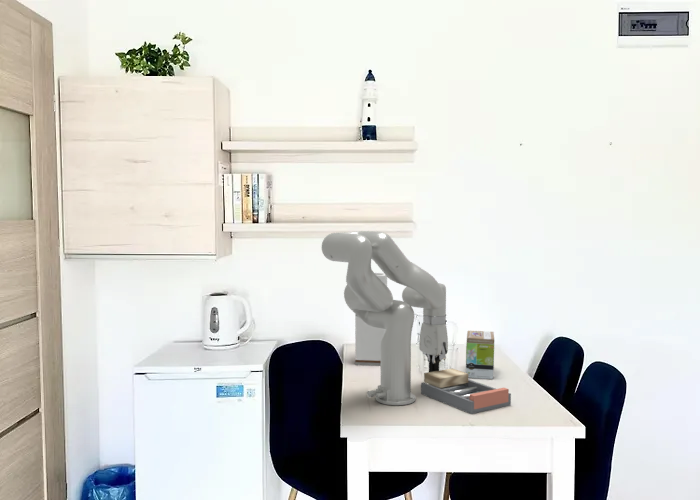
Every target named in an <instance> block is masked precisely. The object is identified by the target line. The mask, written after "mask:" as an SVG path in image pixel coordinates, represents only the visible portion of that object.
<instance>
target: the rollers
mask: <svg viewBox="0 0 700 500" xmlns="http://www.w3.org/2000/svg"><path fill="white" fill-rule="evenodd" d="M429 385H430V384H429ZM432 386H433V385H432ZM435 387H436V386H435ZM437 388H438V387H437ZM440 389H442V390H445V391H448V392H450V393H453V394H456V395H458V396H460V395H461V397H464V398H466V399H469V400H470V394H474V393H479V392H478V391H479V389H478V387H477V386H475V387H470V388H468V384H467V383H464V384H458V385H453V386H448V387H443V388H440ZM485 391H488V390H485ZM480 392H484V391H480Z"/></svg>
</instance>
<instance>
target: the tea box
mask: <svg viewBox="0 0 700 500" xmlns="http://www.w3.org/2000/svg"><path fill="white" fill-rule="evenodd" d="M494 333H495V332H494V331H485V330H467V334H466V343H465V344H466V346H465V373H468V379H469V378H470V379H480V380H481V379H482V380H484V379H485V380H494V368H495V367H494V366H495V334H494Z"/></svg>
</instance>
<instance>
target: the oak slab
mask: <svg viewBox="0 0 700 500" xmlns="http://www.w3.org/2000/svg"><path fill="white" fill-rule="evenodd" d="M423 375H424V377H423V379H424V380H423V381H424V383H427V384H430V385H433V386H436V387H438V388H443V387H448V386H453V385H458V384H464V383H468V379H469V378H468V373H466V371H465V372H464V371H462V370H458V369H455V368H447V369H441V370H440V369H439V371H434V372H429V371H428V372H424V374H423Z"/></svg>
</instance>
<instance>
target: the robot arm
mask: <svg viewBox="0 0 700 500" xmlns="http://www.w3.org/2000/svg"><path fill="white" fill-rule="evenodd" d="M321 242H322V243H321V252H322V254H323V256H324V257H325V258H326V259H327V260H329V261H332V262H340V263H348V264H347V269H346V270H347V271H346V275H345V282H346V285H345V287H344V290H343V291H344V292H343V295H344V296H343V299H344V301H345V304H346V306H347V307H348V309H350V310H351V311H352V312H353V313H354V315H355V314H356V315H357V316H358V317H359V318H360V319H362V320H363V321H364V322H365V323H366V324H368V325H370V326H372V327H377V328H382V329H386V332H385V334H384V336H383V338H382V341H381V366H380V385H377V388H376V389H374V390H367V393H366V396H367V397H368V398H372V397H375V400H376V401H377V402H378V403H380V404H383V405H387V406H405V405H410V404H412V403H414V402H416V395H415V394H414V393H412V391H411V390H412V389H411V387H412V386H411V385H412V383H411V382H412V381H411V380H412V379H411V377H412V374H411V371H412V370H411V369H412V368H411V366H412V365H411V363H412V348H411V347H412V334H413V333H412V331H413V327H414V322H415V312H414V309H413V308H419V309H422V310H423V313H422V314H423V316H422V322H421V325H420V331H419V332H420V333H419V345H418V347H419V350H420V352H422V354H423V355H424V356H426V358H427V362H428V372H434V371H440V363H441V361H442V360H446V359H447V354H448V351H449V341H448V340H449V338H448V329H447V324H446V322H447V320H446V319H447V317H446V316H447V313H446V312H447V287H446V285H445V284H444V283H439V281H437V280H436V278H435V277H434V276H433V275H432V274H431V273H429V272H428V271H426V270H425V269H423V268H422V267H420V266H418V265H417V264H416V263H414V262H411V261H410V260H409V259H408V258H407V257H406V255H405V254H404V252H403V251H402V250H401V249H400V248H399V246H398V245H397V243H395V241H394V240H393V239H392V237H391V236H390V235H389V234H387V233H386V232H383V231H369V230H368V231H363V230H361V231H348V232H332V233H329V234H328V235H325V237H324V239H322V241H321ZM372 261H374V262H375V264H376V266H378V268H379V269H380V270H381V271H382V273H385V275H386V276H387V279H389V280H391V281H392V282H394V283H397V284H399V285H402V286H404V288H403V290H402V293H401V298H402V300H398V299H394V297H393V294H392V291H391V290H390V288H389V287H388V285H387V286H386V285H385V284H384V283H383V282H382V281H381V280H380V279H379V278H378V277H377V276H376V275H375V273H376V272H374V271H373V268H372Z"/></svg>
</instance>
